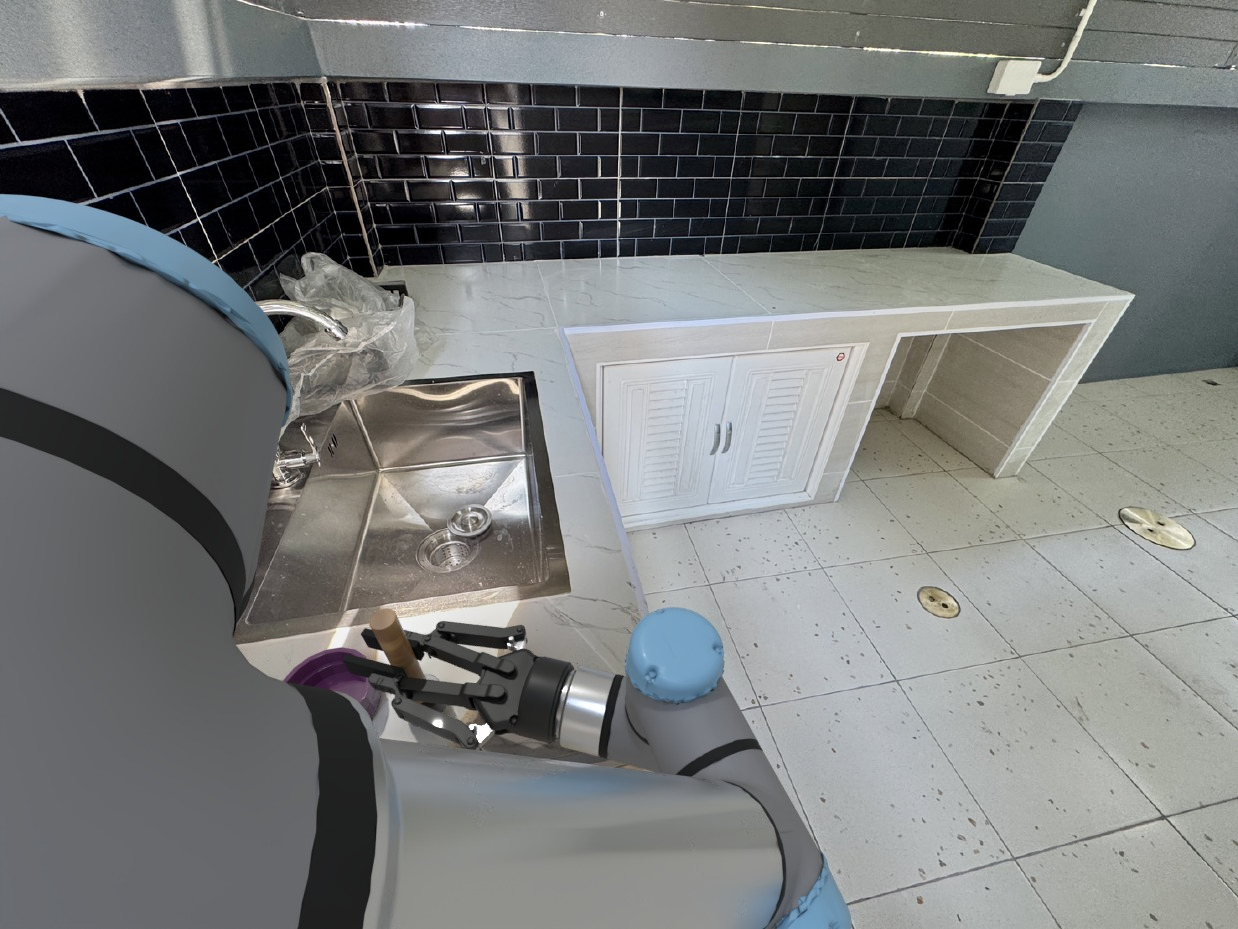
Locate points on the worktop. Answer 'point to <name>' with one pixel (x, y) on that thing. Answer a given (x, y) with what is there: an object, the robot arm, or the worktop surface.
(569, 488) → the worktop surface
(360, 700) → the plum bowl
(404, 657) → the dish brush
